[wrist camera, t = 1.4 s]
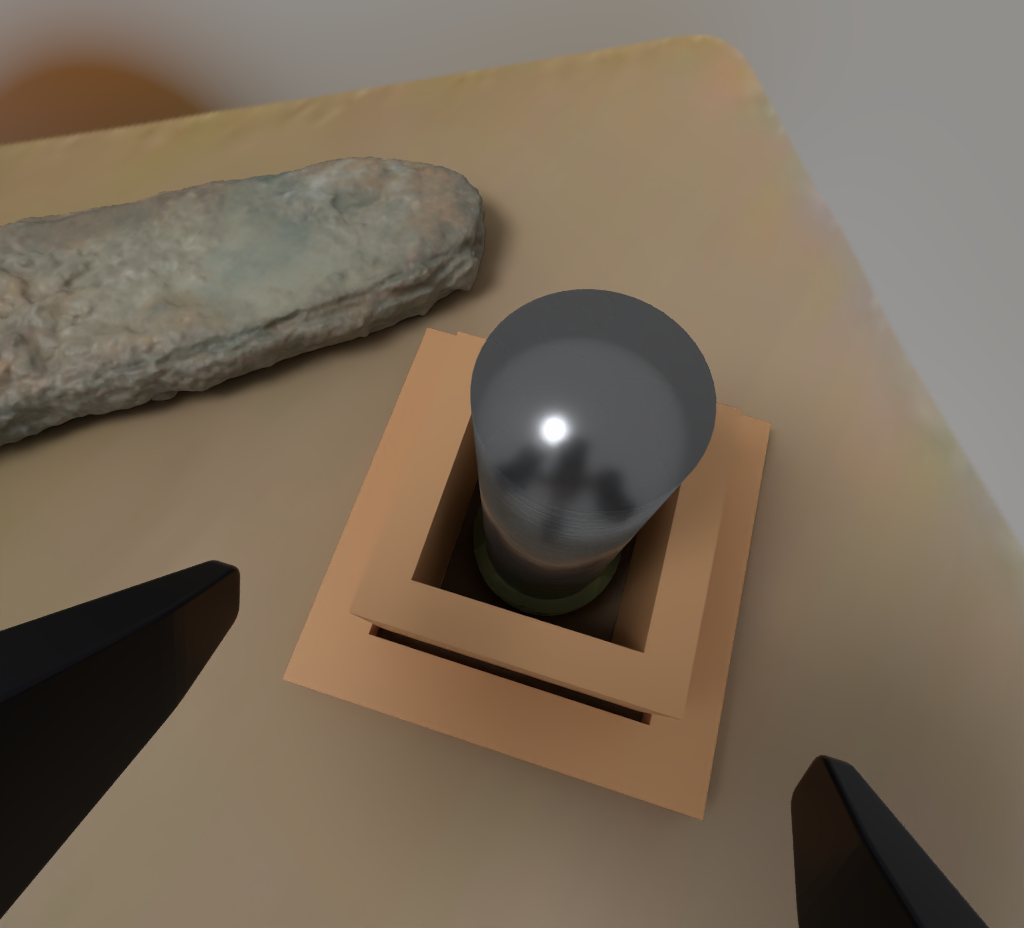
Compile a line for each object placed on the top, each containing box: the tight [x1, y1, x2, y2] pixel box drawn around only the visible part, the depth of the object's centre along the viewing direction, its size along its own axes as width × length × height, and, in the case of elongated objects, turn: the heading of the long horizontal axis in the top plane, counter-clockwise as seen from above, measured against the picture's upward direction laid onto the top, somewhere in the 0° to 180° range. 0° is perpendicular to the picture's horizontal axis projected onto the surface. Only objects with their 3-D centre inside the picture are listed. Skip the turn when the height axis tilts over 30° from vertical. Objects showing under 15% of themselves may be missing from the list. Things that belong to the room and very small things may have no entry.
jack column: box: [470, 289, 716, 616], centre depth 15 cm, size 5×5×12 cm
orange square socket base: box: [283, 328, 771, 820], centre depth 19 cm, size 13×13×6 cm
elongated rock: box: [0, 157, 485, 446], centre depth 22 cm, size 35×5×10 cm
